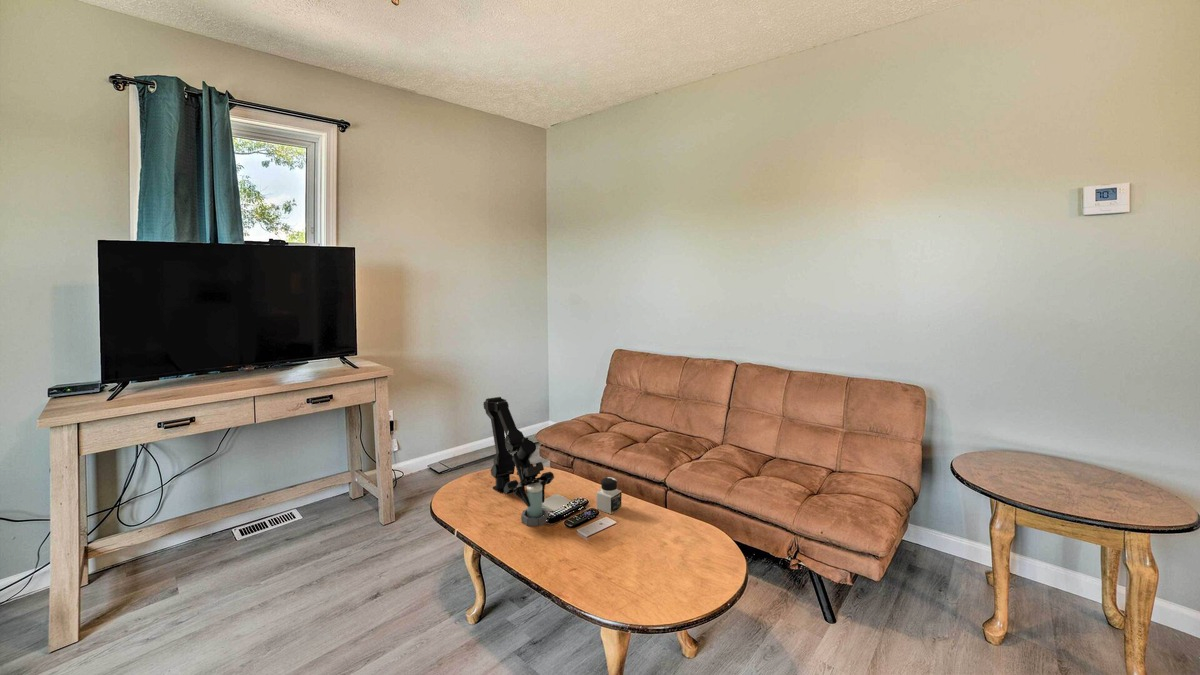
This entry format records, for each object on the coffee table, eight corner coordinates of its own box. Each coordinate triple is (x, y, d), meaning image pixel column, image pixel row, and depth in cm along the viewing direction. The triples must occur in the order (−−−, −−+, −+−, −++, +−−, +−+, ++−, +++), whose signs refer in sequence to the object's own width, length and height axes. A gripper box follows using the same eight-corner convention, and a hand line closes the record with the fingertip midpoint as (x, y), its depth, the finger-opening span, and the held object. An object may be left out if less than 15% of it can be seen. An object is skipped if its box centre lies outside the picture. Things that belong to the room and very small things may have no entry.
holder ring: (517, 519, 182) (516, 512, 181) (537, 510, 188) (537, 504, 188) (532, 528, 175) (532, 522, 175) (553, 519, 181) (552, 513, 181)
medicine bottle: (611, 514, 185) (611, 484, 184) (596, 509, 189) (596, 480, 188) (621, 507, 191) (622, 478, 189) (607, 502, 195) (607, 474, 194)
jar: (524, 519, 182) (523, 486, 180) (536, 514, 186) (536, 481, 184) (533, 525, 178) (532, 491, 176) (545, 519, 181) (545, 486, 180)
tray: (537, 504, 193) (537, 501, 193) (557, 496, 200) (557, 493, 200) (563, 518, 182) (563, 515, 182) (583, 510, 189) (583, 507, 189)
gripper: (506, 461, 177) (518, 501, 169) (551, 451, 187) (566, 489, 179) (498, 474, 184) (510, 514, 177) (542, 464, 194) (556, 501, 187)
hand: (536, 504), depth 180 cm, fingers closed on jar, 5 cm apart
